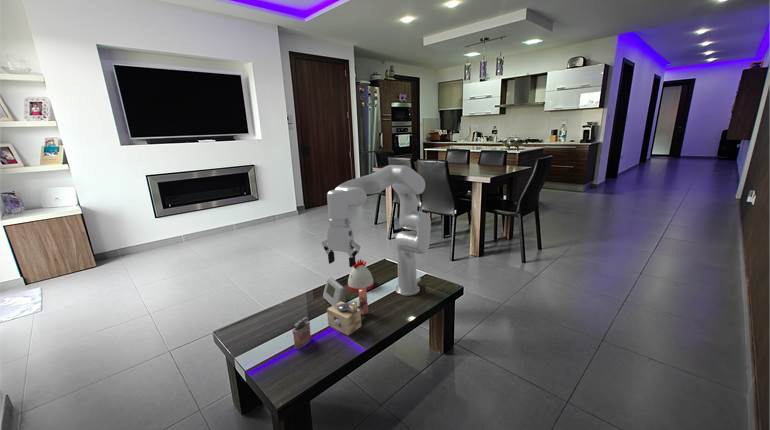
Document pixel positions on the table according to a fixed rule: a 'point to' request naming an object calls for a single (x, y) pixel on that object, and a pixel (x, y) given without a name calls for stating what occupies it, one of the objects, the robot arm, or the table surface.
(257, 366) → the table surface
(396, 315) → the table surface
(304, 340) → the lighter
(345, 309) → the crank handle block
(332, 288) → the digital clock
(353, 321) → the beige block
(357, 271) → the kitchen timer
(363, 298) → the copper head hammer
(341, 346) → the table surface
